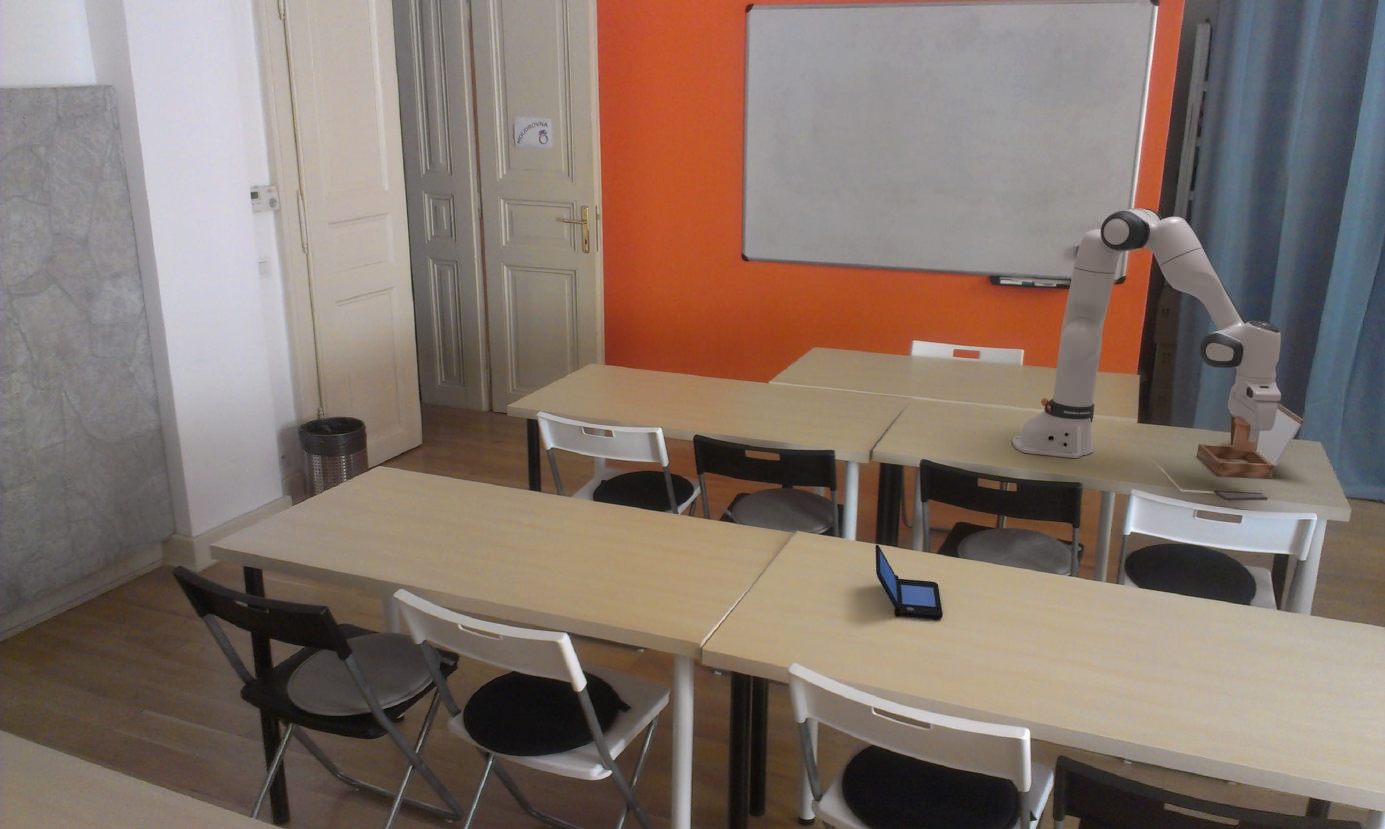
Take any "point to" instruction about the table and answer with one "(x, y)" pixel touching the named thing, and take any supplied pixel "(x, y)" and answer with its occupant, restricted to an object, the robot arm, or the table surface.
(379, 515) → the table surface
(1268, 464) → the tray
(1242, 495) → the coaster
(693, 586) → the table surface
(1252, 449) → the tan cylinder
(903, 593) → the handheld game console
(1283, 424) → the lid
